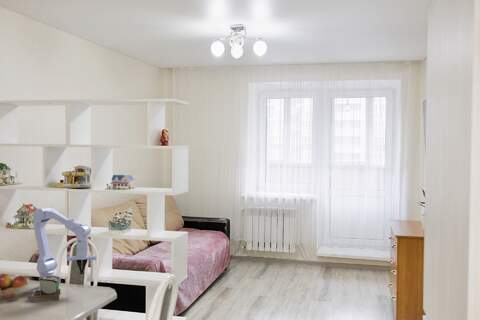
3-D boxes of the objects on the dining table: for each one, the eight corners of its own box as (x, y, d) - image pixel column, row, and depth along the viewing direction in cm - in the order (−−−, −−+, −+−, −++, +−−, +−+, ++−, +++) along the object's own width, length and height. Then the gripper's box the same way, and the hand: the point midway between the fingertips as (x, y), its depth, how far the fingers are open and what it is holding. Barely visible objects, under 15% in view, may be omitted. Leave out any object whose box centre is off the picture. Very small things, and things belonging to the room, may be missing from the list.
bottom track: (33, 295, 245) (33, 289, 244) (60, 293, 249) (60, 287, 249) (31, 301, 234) (31, 295, 234) (59, 300, 238) (59, 294, 238)
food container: (65, 296, 244) (66, 277, 244) (57, 299, 239) (57, 280, 238) (47, 293, 249) (47, 274, 248) (38, 296, 243) (38, 277, 243)
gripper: (67, 250, 243) (66, 276, 244) (96, 249, 248) (96, 275, 248) (67, 247, 250) (67, 273, 250) (96, 246, 254) (95, 271, 255)
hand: (81, 273), depth 250 cm, fingers closed
